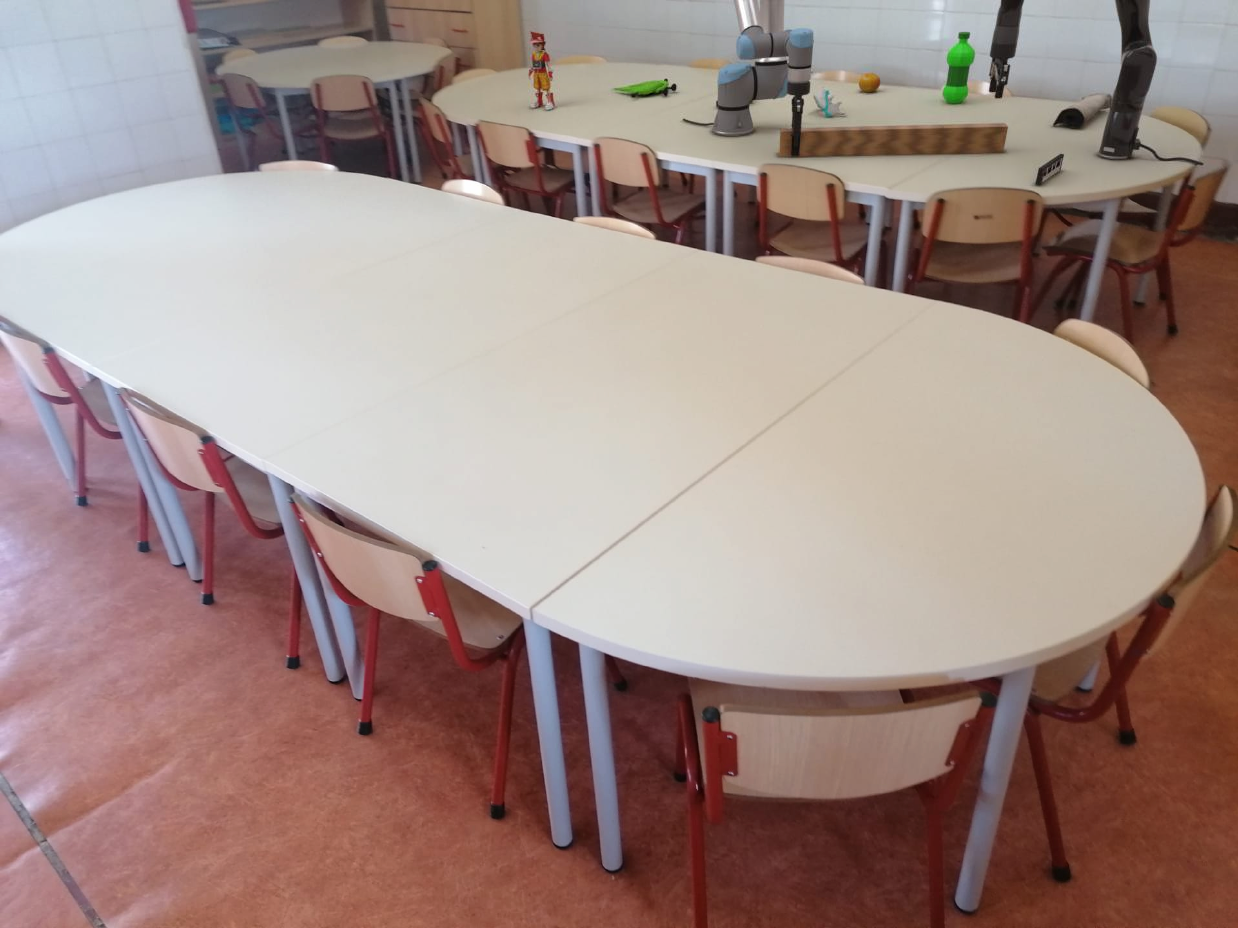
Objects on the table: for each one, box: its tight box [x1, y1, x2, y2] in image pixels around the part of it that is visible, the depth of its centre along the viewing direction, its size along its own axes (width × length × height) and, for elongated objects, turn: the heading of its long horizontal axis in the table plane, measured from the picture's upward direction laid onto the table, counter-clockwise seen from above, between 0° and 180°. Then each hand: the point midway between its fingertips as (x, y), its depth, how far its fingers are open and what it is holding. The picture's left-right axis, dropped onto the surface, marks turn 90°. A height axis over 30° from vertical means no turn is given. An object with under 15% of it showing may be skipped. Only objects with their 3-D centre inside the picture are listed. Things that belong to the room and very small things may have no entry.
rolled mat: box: [1052, 92, 1113, 129], centre depth 324 cm, size 30×9×10 cm
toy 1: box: [527, 31, 556, 111], centre depth 374 cm, size 12×9×30 cm
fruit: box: [858, 72, 881, 93], centre depth 374 cm, size 8×8×8 cm
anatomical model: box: [813, 86, 846, 118], centre depth 348 cm, size 15×10×10 cm
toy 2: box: [612, 78, 677, 99], centre depth 396 cm, size 28×5×30 cm
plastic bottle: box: [942, 31, 976, 104], centre depth 348 cm, size 10×10×25 cm
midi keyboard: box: [1035, 153, 1065, 186], centre depth 273 cm, size 18×1×5 cm, turn 138°
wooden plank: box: [778, 122, 1009, 158], centre depth 302 cm, size 74×4×8 cm, turn 83°
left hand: (794, 153), depth 308 cm, fingers open, 5 cm apart
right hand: (995, 95), depth 290 cm, fingers open, 8 cm apart
